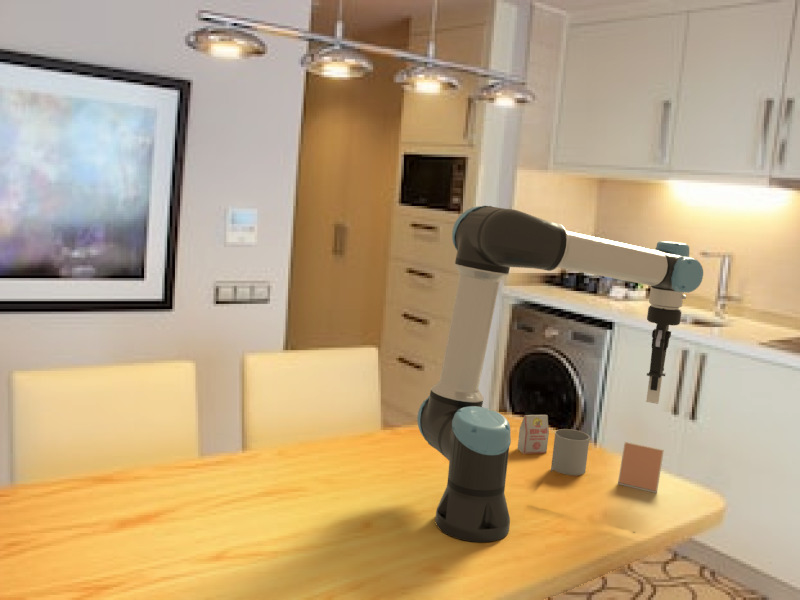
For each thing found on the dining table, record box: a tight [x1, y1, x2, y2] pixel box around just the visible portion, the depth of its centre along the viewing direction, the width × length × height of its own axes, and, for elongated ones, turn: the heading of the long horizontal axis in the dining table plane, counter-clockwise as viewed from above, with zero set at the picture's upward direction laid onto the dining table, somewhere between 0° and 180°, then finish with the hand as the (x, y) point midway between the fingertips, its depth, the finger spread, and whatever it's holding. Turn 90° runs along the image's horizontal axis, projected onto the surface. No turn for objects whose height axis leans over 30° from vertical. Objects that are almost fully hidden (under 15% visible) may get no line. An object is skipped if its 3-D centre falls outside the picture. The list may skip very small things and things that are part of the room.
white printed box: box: [517, 414, 550, 455], centre depth 200 cm, size 4×7×10 cm, turn 107°
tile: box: [617, 441, 665, 494], centre depth 179 cm, size 10×9×1 cm
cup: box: [550, 428, 590, 476], centre depth 187 cm, size 8×8×10 cm
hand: (652, 402), depth 182 cm, fingers closed
